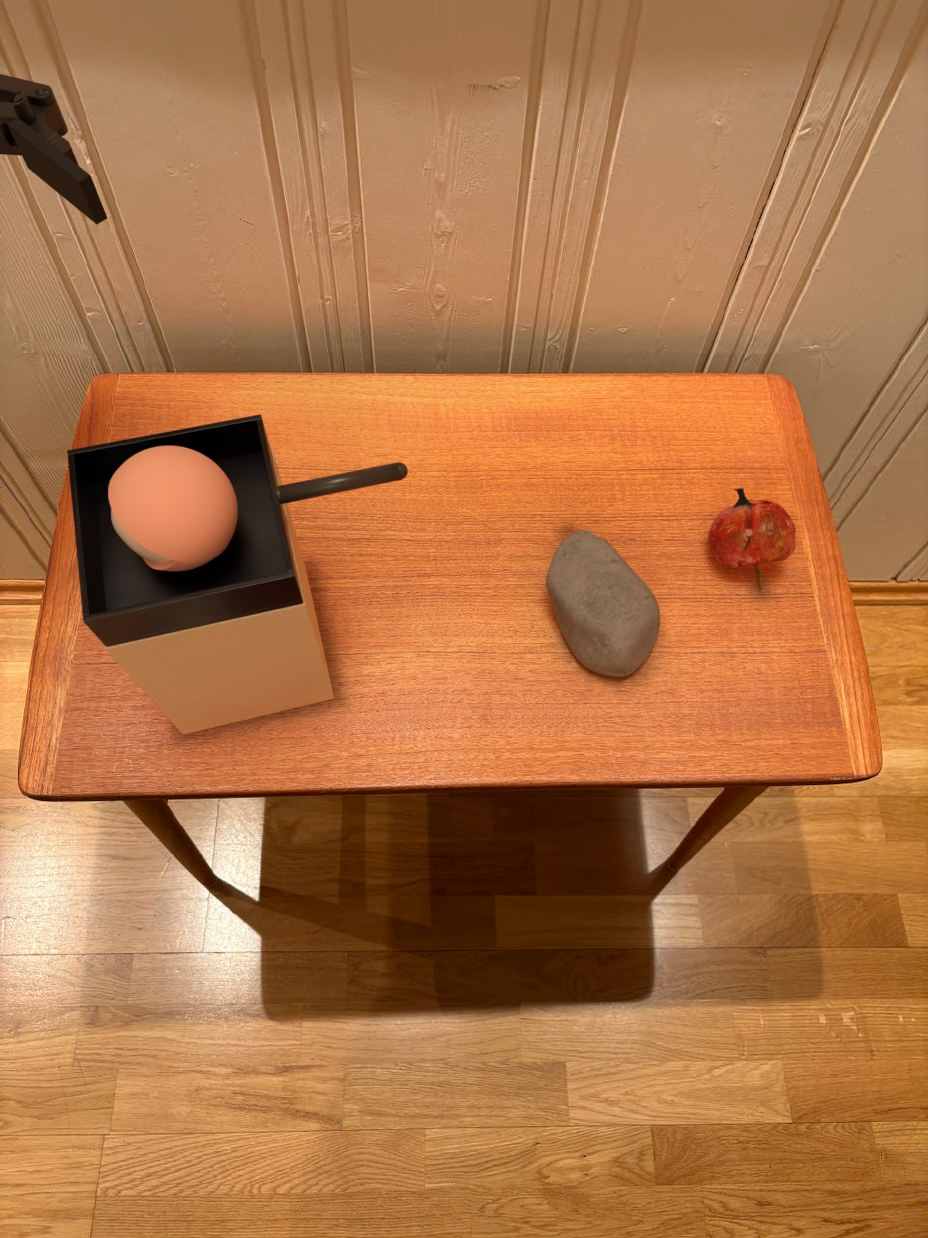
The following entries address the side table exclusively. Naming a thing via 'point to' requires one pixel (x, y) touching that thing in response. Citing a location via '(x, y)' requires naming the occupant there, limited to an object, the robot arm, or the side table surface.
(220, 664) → the stand
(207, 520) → the toy ball
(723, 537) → the pomegranate
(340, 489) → the pan
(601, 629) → the stone
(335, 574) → the side table surface
